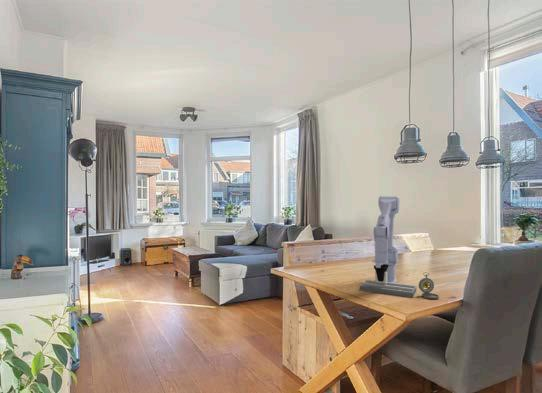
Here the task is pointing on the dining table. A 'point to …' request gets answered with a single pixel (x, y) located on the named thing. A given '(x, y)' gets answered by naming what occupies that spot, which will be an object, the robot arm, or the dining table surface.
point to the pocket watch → (425, 283)
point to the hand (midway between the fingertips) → (381, 280)
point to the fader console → (389, 288)
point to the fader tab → (383, 280)
